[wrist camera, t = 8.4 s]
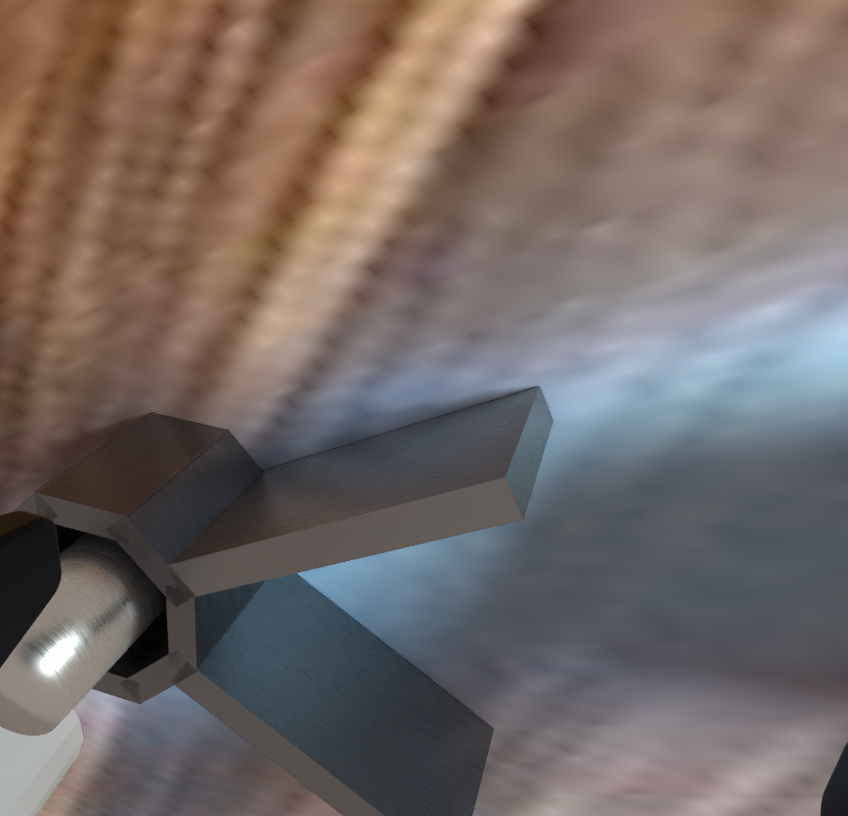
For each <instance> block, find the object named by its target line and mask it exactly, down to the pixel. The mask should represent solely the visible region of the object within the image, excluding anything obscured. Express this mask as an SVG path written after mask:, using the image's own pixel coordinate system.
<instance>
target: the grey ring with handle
mask: <svg viewBox="0 0 848 816" xmlns="http://www.w3.org/2000/svg"><path fill="white" fill-rule="evenodd" d="M552 423H553V419H552V416H551V414H550V411H549V409H548V406H547V404H546V401H545V399H544V396H543V394H542V391H541V388H540V386H539V387H536V388H533V389H529V390H526V391H523V392H519V393H516V394H513V395H510V396H506V397H503V398H500V399H496V400H493V401H490V402H486V403H483V404H480V405H477V406H473V407H470V408H467V409H463V410H460V411H457V412H454V413H450V414H447V415H444V416H440V417H437V418H434V419H431V420H427V421H424V422H421V423H417V424H414V425H411V426H408V427H404V428H401V429H398V430H394V431H391V432H388V433H385V434H381V435H378V436H375V437H371V438H368V439H365V440H362V441H358V442H355V443H352V444H348V445H345V446H342V447H339V448H335V449H332V450H329V451H325V452H322V453H319V454H316V455H312V456H309V457H306V458H302V459H299V460H296V461H292V462H289V463H286V464H283V465H279V466H276V467H273V468H269V469H266V470H263V471H262V470H261V469H260V468H259V467H258V465H257V464H256V463H255V462H254V461H253V459H252V458H251V457H250V456H249V455H248V453H247V452H246V451H245V450H244V449H243V447H242V446H241V445H240V444H239V443H238V441H237V440H236V439H235V438H234V437H233V435H232V434H231V433H230V432H229V430H228V429H227V430H225V429H220V428H216V427H212V426H207V425H203V424H199V423H194V422H190V421H185V420H181V419H177V418H172V417H168V416H164V415H159V414H155V413H154V412H153V413H151V414H149V415H148V416H146V417H145V418H143V419H142V420H140V421H139V422H137V423H136V424H134V425H133V426H131V427H130V428H128V429H127V430H125V431H124V432H122V433H121V434H119V435H118V436H116V437H115V438H114V439H112V440H111V441H109V442H108V443H106V444H105V445H103V446H102V447H100V448H99V449H97V450H96V451H94V452H93V453H91V454H90V455H88V456H87V457H85V458H84V459H82V460H81V461H79V462H78V463H76V464H75V465H74V466H72V467H71V468H69V469H68V470H66V471H65V472H63V473H62V474H60V475H59V476H57V477H56V478H54V479H53V480H51V481H50V482H48V483H47V484H45V485H44V486H42V487H41V488H39V489H38V490H36V491H35V492H34V494H33V495H32V496H31V497H29V498H28V499H27V500H26V501H25V502H23V503H22V504H21V505H20V506H19V507H18V508H16V509H15V510H14V511H27V512H31V513H35V514H38V515H42V516H46V517H48V518H50V519H51V520H52V521H53V522H54V524H55V525H56V529H57V536H58V544H59V553H62V552H63V551H64V550H65V549H67V548H68V547H69V546H70V545H72V544H73V543H74V542H75V541H76V540H78V539H79V538H80V537H81V536H83V535H84V534H85V533H86V532H87V533H90V534H94V535H98V536H101V537H105V538H109V539H112V540H116V541H117V542H118V543H119V544H120V546H121V547H122V548H123V549H124V550H125V551H126V552H127V553H128V555H129V556H130V557H131V558H132V559H133V560H134V561H135V562H136V564H137V565H138V566H139V567H140V568H141V569H142V570H143V572H144V573H145V574H146V575H147V576H148V577H149V578H150V579H151V581H152V582H153V583H154V584H155V585H156V586H157V587H158V588H159V590H160V591H161V592H162V593H163V594H164V595H165V596H166V608H165V609H164V610H163V611H162V613H161V614H160V615H159V616H158V617H157V618H156V619H155V620H154V621H153V622H152V623H151V625H150V626H149V627H148V628H147V629H146V630H145V631H144V632H143V633H142V634H141V635H140V637H139V638H138V639H137V640H136V641H135V642H134V643H133V644H132V645H131V646H130V647H129V648H128V650H127V651H126V652H125V653H124V654H123V655H122V656H121V657H120V658H119V659H118V660H117V662H116V663H115V664H114V665H113V666H112V667H111V668H110V669H109V670H108V671H107V672H106V674H105V675H104V676H103V677H102V678H101V679H100V680H99V681H98V682H97V683H96V684H95V686H94V687H93V688H92V689H94V690H97V691H100V692H104V693H107V694H110V695H113V696H116V697H119V698H122V699H126V700H129V701H132V702H135V703H138V704H142V702H144V701H146V700H148V699H150V698H151V697H153V696H155V695H157V694H159V693H160V692H162V691H164V690H166V689H168V688H170V687H171V686H173V685H175V686H177V687H178V688H179V689H180V690H182V691H183V692H184V693H186V694H187V695H188V696H189V697H191V698H192V699H193V700H195V701H196V702H197V703H199V704H200V705H201V706H202V707H204V708H205V709H206V710H208V711H209V712H210V713H211V714H213V715H214V716H215V717H217V718H218V719H219V720H220V721H222V722H223V723H224V724H226V725H227V726H228V727H229V728H231V729H232V730H233V731H235V732H236V733H237V734H239V735H240V736H241V737H242V738H244V739H245V740H246V741H248V742H249V743H250V744H251V745H253V746H254V747H255V748H257V749H258V750H259V751H260V752H262V753H263V754H264V755H266V756H267V757H268V758H270V759H271V760H272V761H273V762H275V763H276V764H277V765H279V766H280V767H281V768H282V769H284V770H285V771H286V772H288V773H289V774H290V775H291V776H293V777H294V778H295V779H297V780H298V781H299V782H300V783H302V784H303V785H304V786H306V787H307V788H308V789H310V790H311V791H312V792H313V793H315V794H316V795H317V796H319V797H320V798H321V799H322V800H324V801H325V802H326V803H328V804H329V805H330V806H331V807H333V808H334V809H335V810H337V811H338V812H339V813H340V814H342V815H343V816H472V815H473V811H474V807H475V803H476V799H477V795H478V791H479V787H480V783H481V779H482V775H483V771H484V767H485V763H486V759H487V755H488V751H489V747H490V743H491V739H492V735H493V731H494V729H493V728H492V727H490V726H489V725H488V724H486V723H485V722H484V721H483V720H481V719H480V718H479V717H478V716H476V715H475V714H474V713H472V712H471V711H470V710H469V709H467V708H466V707H465V706H464V705H462V704H461V703H460V702H458V701H457V700H456V699H455V698H453V697H452V696H451V695H450V694H448V693H447V692H446V691H445V690H443V689H442V688H441V687H439V686H438V685H437V684H436V683H434V682H433V681H432V680H431V679H429V678H428V677H427V676H425V675H424V674H423V673H422V672H420V671H419V670H418V669H417V668H415V667H414V666H413V665H411V664H410V663H409V662H408V661H406V660H405V659H404V658H403V657H401V656H400V655H399V654H397V653H396V652H395V651H394V650H392V649H391V648H390V647H389V646H387V645H386V644H385V643H384V642H382V641H381V640H380V639H378V638H377V637H376V636H375V635H373V634H372V633H371V632H370V631H368V630H367V629H366V628H364V627H363V626H362V625H361V624H359V623H358V622H357V621H356V620H354V619H353V618H352V617H350V616H349V615H348V614H347V613H345V612H344V611H343V610H342V609H340V608H339V607H338V606H337V605H335V604H334V603H333V602H331V601H330V600H329V599H328V598H326V597H325V596H324V595H323V594H321V593H320V592H319V591H317V590H316V589H315V588H314V587H312V586H311V585H310V584H309V583H307V582H306V581H305V580H303V579H302V578H301V577H300V576H298V575H297V574H296V573H299V572H303V571H307V570H311V569H316V568H320V567H324V566H328V565H333V564H337V563H341V562H345V561H350V560H354V559H358V558H362V557H367V556H371V555H375V554H379V553H384V552H388V551H392V550H396V549H401V548H405V547H409V546H414V545H418V544H422V543H426V542H431V541H435V540H439V539H443V538H448V537H452V536H456V535H460V534H465V533H469V532H473V531H477V530H482V529H486V528H490V527H494V526H499V525H503V524H507V523H511V522H516V521H520V520H523V519H524V516H525V512H526V509H527V506H528V503H529V499H530V496H531V493H532V489H533V486H534V483H535V479H536V476H537V473H538V469H539V466H540V463H541V460H542V456H543V453H544V450H545V446H546V443H547V440H548V436H549V433H550V430H551V426H552ZM14 511H13V512H14Z"/></svg>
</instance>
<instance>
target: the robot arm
mask: <svg viewBox="0 0 848 816" xmlns="http://www.w3.org/2000/svg"><path fill="white" fill-rule="evenodd" d="M61 575H62V569H61V561H60V553H59V544H58V536H57V529H56V525H55V524H54V522H53V521H52V520H51V519H50V518H48V517H46V516H42V515H38V514H35V513H31V512H27V511H14V512H11V513H7V514H3V515H0V668H1V667H2V665H3V664H4V663H5V661H6V660H7V659H8V657H9V656H10V654H11V653H12V652H13V650H14V649H15V648H16V646H17V645H18V644H19V642H20V641H21V640H22V638H23V637H24V635H25V634H26V633H27V631H28V630H29V629H30V627H31V626H32V625H33V623H34V622H35V620H36V619H37V618H38V616H39V615H40V614H41V612H42V611H43V610H44V608H45V607H46V606H47V604H48V603H49V601H50V600H51V599H52V597H53V596H54V594H55V593H56V591H57V589H58V587H59V584H60V581H61ZM820 815H821V816H848V742H847V744H846V745H845V747H844V749H843V752H842V754H841V756H840V758H839V760H838V762H837V765H836V767H835V769H834V771H833V773H832V775H831V777H830V780H829V782H828V784H827V786H826V788H825V791H824V793H823V797H822V802H821V813H820Z"/></svg>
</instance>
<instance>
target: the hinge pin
mask: <svg viewBox="0 0 848 816" xmlns="http://www.w3.org/2000/svg"><path fill="white" fill-rule="evenodd" d="M60 561H61V569H62V575H61V581H60V584H59V587H58V589H57V591H56V593H55V594H54V596H53V597H52V599H51V600H50V601H49V603H48V604H47V606H46V607H45V608H44V610H43V611H42V612H41V614H40V615H39V616H38V618H37V619H36V620H35V622H34V623H33V625H32V626H31V627H30V629H29V630H28V631H27V633H26V634H25V635H24V637H23V638H22V640H21V641H20V642H19V644H18V645H17V646H16V648H15V649H14V650H13V652H12V653H11V654H10V656H9V657H8V659H7V660H6V661H5V663H4V664H3V665H2V667H1V668H0V727H2V728H4V729H6V730H9V731H11V732H14V733H18V734H22V735H27V736H39V735H44V734H47V733H49V732H51V731H52V730H54V729H55V728H56V727H57V726H58V725H59V724H60V723H61V721H62V720H63V719H64V718H65V717H66V716H67V715H68V714H69V713H70V712H71V711H72V709H73V708H74V707H75V706H76V705H77V704H78V703H79V702H80V701H81V700H82V699H83V698H84V696H85V695H86V694H87V693H88V692H89V691H90V690H91V689H92V688H93V687H94V686H95V684H96V683H97V682H98V681H99V680H100V679H101V678H102V677H103V676H104V675H105V674H106V672H107V671H108V670H109V669H110V668H111V667H112V666H113V665H114V664H115V663H116V662H117V660H118V659H119V658H120V657H121V656H122V655H123V654H124V653H125V652H126V651H127V650H128V648H129V647H130V646H131V645H132V644H133V643H134V642H135V641H136V640H137V639H138V638H139V637H140V635H141V634H142V633H143V632H144V631H145V630H146V629H147V628H148V627H149V626H150V625H151V623H152V622H153V621H154V620H155V619H156V618H157V617H158V616H159V615H160V614H161V613H162V611H163V610H164V609H165V608H166V596H165V595H164V594H163V593H162V592H161V591H160V590H159V588H158V587H157V586H156V585H155V584H154V583H153V582H152V581H151V579H150V578H149V577H148V576H147V575H146V574H145V573H144V572H143V570H142V569H141V568H140V567H139V566H138V565H137V564H136V562H135V561H134V560H133V559H132V558H131V557H130V556H129V555H128V553H127V552H126V551H125V550H124V549H123V548H122V547H121V546H120V544H119V543H118V542H117V541H116V540H112V539H109V538H105V537H101V536H98V535H94V534H90V533H87V532H86V533H85V534H84V535H83V536H81V537H80V538H79V539H78V540H76V541H75V542H74V543H73V544H72V545H70V546H69V547H68V548H67V549H65V550H64V551H63V552H62V553H60Z"/></svg>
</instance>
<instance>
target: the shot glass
mask: <svg viewBox="0 0 848 816" xmlns="http://www.w3.org/2000/svg"><path fill="white" fill-rule="evenodd" d="M83 741H84V738H83V733H82V727H81V721H80V719H79V717H78V715H77V713H76V712H75V710H74V708H73V709H72V711H71V712H70V713H69V714H68V715H67V716H66V717H65V718H64V719H63V720H62V721H61V723H60V724H59V725H58V726H57V727H56V728H55V729H54V730H52V731H51V732H49V733H47V734H44V735H39V736H27V735H22V734H18V733H14V732H11V731H9V730H6V729H4V728H2V727H0V816H36V815H37V814H38V812H39V811H40V809H41V808H42V806H43V805H44V804H45V802H46V801H47V799H48V798H49V797H50V795H51V794H52V792H53V791H54V789H55V788H56V787H57V785H58V784H59V782H60V781H61V780H62V778H63V777H64V775H65V774H66V772H67V771H68V770H69V768H70V767H71V765H72V764H73V763H74V761H75V760H76V758H77V757H78V755H79V752H80V750H81V747H82V744H83Z"/></svg>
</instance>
